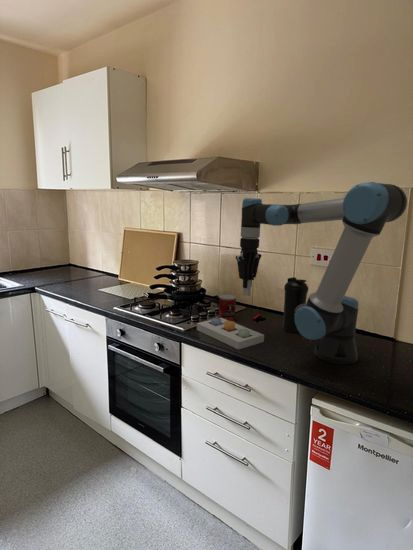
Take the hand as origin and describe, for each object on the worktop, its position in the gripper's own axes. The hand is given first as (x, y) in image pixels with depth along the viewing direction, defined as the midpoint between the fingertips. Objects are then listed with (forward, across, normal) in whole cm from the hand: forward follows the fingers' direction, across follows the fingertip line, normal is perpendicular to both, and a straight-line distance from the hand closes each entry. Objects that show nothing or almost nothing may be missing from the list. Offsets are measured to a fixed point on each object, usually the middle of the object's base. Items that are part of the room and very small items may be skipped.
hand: (246, 295), depth 159 cm
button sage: (+17, +6, +5) cm, 18 cm away
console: (+17, +5, -4) cm, 19 cm away
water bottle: (+18, -24, +7) cm, 30 cm away
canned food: (+18, -9, -20) cm, 28 cm away
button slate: (+16, +5, -12) cm, 21 cm away
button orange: (+15, +5, -4) cm, 17 cm away
